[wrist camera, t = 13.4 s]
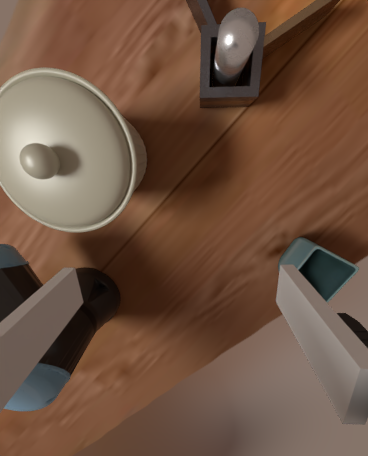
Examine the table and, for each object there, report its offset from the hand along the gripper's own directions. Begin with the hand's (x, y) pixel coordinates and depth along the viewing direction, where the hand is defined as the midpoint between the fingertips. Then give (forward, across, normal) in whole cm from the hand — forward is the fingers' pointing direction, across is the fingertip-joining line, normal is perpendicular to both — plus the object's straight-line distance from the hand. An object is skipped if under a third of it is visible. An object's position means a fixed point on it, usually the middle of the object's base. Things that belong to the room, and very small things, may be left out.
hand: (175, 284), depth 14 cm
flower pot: (+29, +22, -12) cm, 39 cm away
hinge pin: (+29, +6, +19) cm, 35 cm away
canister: (+30, -14, +8) cm, 34 cm away
